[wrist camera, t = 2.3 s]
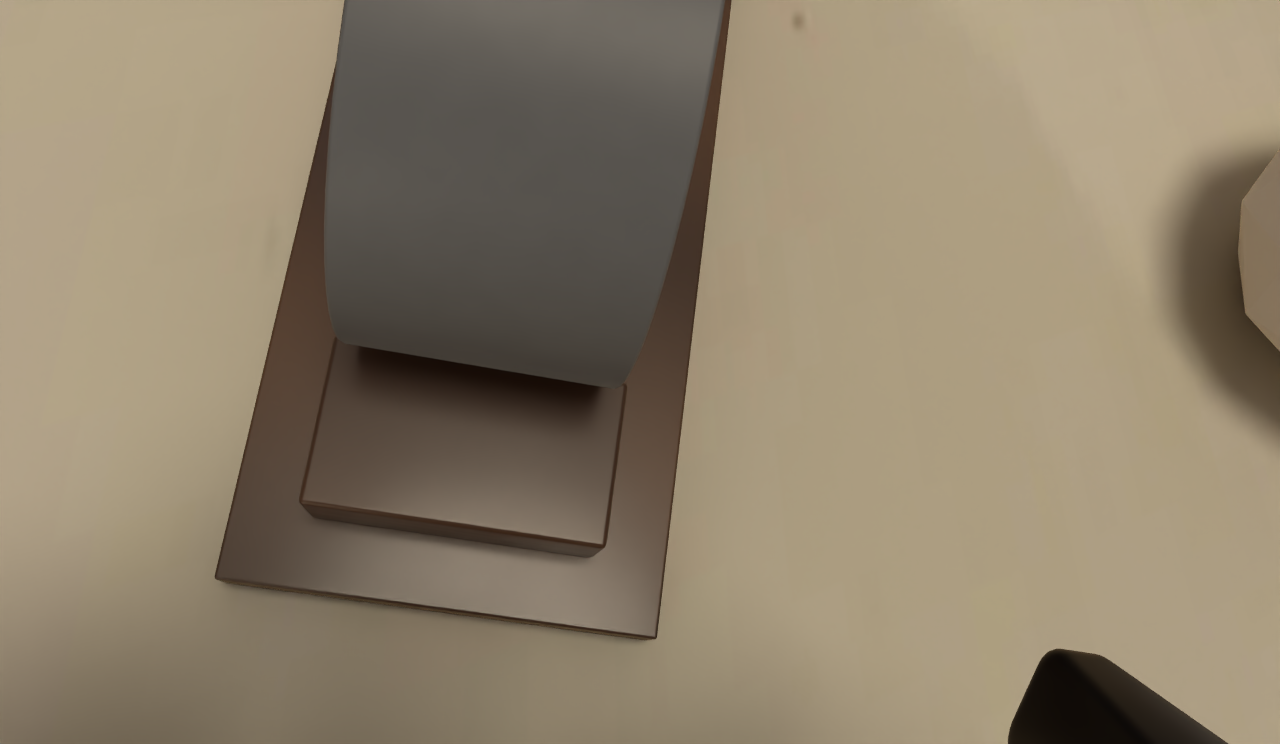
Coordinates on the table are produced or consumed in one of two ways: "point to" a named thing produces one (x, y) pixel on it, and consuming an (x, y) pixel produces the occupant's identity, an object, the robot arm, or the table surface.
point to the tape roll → (512, 176)
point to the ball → (1262, 251)
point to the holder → (465, 458)
